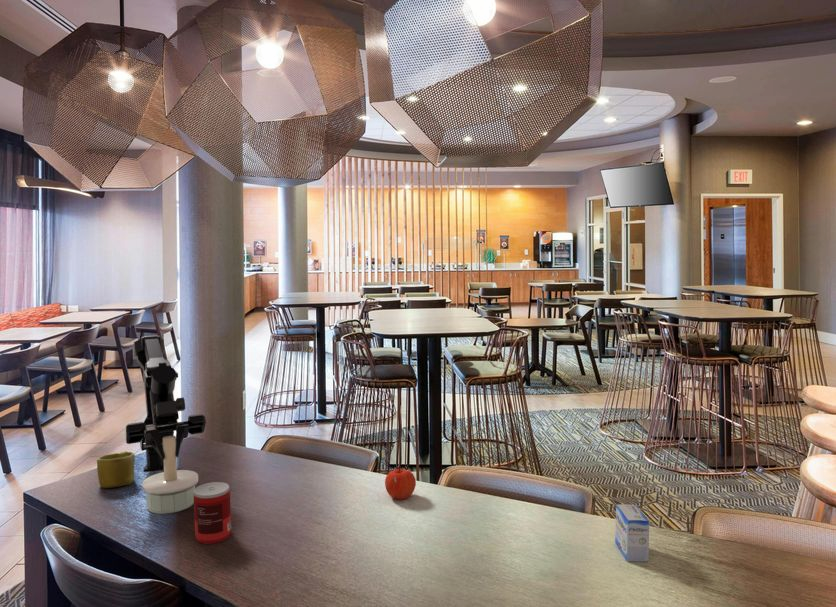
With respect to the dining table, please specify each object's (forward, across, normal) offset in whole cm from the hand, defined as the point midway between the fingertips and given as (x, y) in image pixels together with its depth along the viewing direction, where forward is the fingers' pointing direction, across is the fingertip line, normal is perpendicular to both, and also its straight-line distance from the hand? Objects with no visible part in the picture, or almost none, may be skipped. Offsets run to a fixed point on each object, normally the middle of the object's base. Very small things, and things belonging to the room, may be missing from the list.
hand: (170, 457), depth 145 cm
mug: (-9, -10, +28) cm, 31 cm away
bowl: (+8, 0, +10) cm, 13 cm away
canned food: (+25, +6, -7) cm, 26 cm away
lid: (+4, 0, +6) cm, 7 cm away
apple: (+27, +52, -9) cm, 59 cm away
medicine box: (+62, +79, -45) cm, 110 cm away
